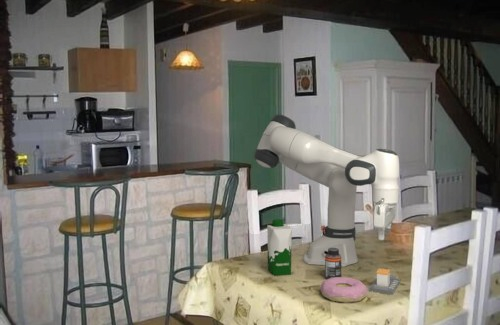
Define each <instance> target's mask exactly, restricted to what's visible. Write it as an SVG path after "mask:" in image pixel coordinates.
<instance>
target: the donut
mask: <svg viewBox="0 0 500 325" xmlns="http://www.w3.org/2000/svg"><path fill="white" fill-rule="evenodd" d="M319 292H321V294H322V296H323V297H324V298H327V299H329V301H331V302H335V301H336V303H343V302H344V303H346V304H348V303H356V302H357V303H358V302H360V301H362V300H363V299H364V298H365V297H367V294H368V291H367V286H366V285H365V284H364V283H363V282H362V281H361V280H360V279H356V278H352V277H347V276H346V277H345V276H341V277H335V278H330V279H324V280H323V282H322V283H321V285H320V291H319Z"/></svg>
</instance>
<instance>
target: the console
mask: <svg viewBox="0 0 500 325" xmlns="http://www.w3.org/2000/svg"><path fill="white" fill-rule="evenodd" d="M400 283H401V279H400V278H397V275H391V274H390V284H389V286H381V285H377V277H376V278H375V280H374V281H373V282H372V283H371V285H370V286H369V287H368V292H372V291H373V293H374V292H375V293H378V292H379V294H386V295H394V293H395V291H396V290H397V288H398V287H399V285H400Z"/></svg>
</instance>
